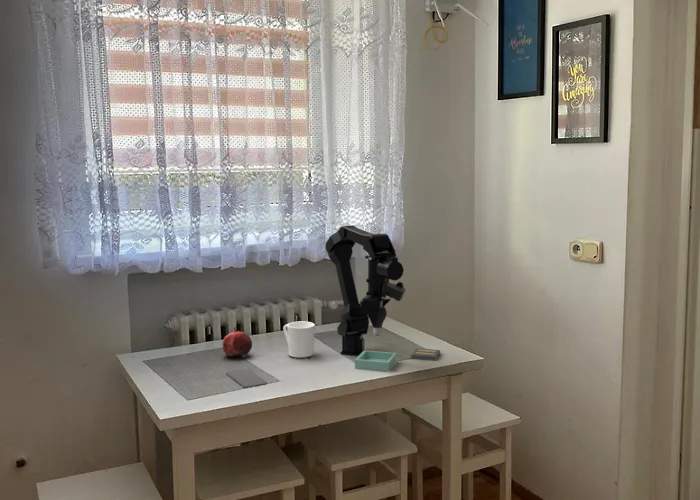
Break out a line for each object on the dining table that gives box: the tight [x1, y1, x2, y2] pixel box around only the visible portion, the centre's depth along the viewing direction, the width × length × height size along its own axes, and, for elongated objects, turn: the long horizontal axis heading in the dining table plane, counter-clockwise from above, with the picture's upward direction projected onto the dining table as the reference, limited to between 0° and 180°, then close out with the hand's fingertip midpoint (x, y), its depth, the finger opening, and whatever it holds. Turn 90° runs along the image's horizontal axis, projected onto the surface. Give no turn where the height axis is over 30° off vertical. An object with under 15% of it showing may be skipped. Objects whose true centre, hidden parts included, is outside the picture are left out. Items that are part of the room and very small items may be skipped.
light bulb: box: [372, 305, 387, 337], centre depth 227 cm, size 6×6×10 cm
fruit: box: [222, 325, 253, 358], centre depth 238 cm, size 9×10×10 cm
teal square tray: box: [354, 349, 398, 373], centre depth 229 cm, size 11×11×3 cm
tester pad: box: [410, 347, 441, 361], centre depth 239 cm, size 8×8×1 cm
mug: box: [282, 320, 316, 360], centre depth 239 cm, size 11×9×10 cm
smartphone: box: [225, 368, 268, 389], centre depth 216 cm, size 8×1×15 cm
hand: (377, 324), depth 227 cm, fingers closed on light bulb, 5 cm apart
